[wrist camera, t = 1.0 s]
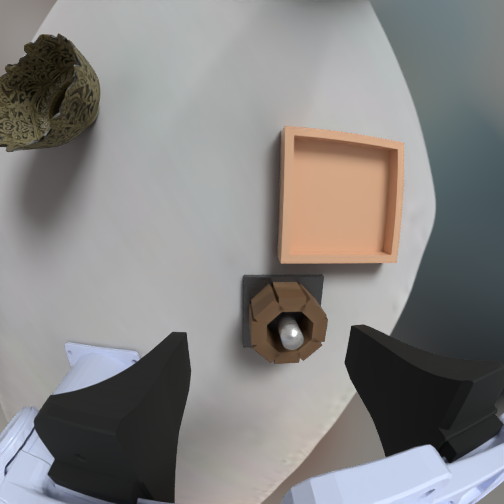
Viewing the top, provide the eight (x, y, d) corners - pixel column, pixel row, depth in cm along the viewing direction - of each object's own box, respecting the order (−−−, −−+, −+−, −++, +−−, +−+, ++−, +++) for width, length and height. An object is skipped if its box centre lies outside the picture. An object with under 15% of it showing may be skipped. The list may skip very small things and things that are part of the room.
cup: (107, 55, 16) (61, 11, 8) (138, 121, 18) (89, 90, 10) (40, 107, 16) (-19, 90, 9) (65, 174, 18) (-1, 176, 10)
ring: (311, 340, 22) (321, 360, 19) (248, 342, 22) (250, 364, 19) (318, 281, 21) (330, 296, 18) (249, 282, 21) (252, 298, 18)
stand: (313, 341, 23) (329, 372, 18) (243, 343, 22) (245, 378, 18) (321, 274, 21) (343, 296, 17) (244, 274, 21) (247, 299, 17)
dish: (385, 256, 21) (396, 262, 20) (276, 256, 21) (280, 263, 19) (392, 145, 19) (404, 143, 18) (280, 130, 19) (285, 125, 17)
